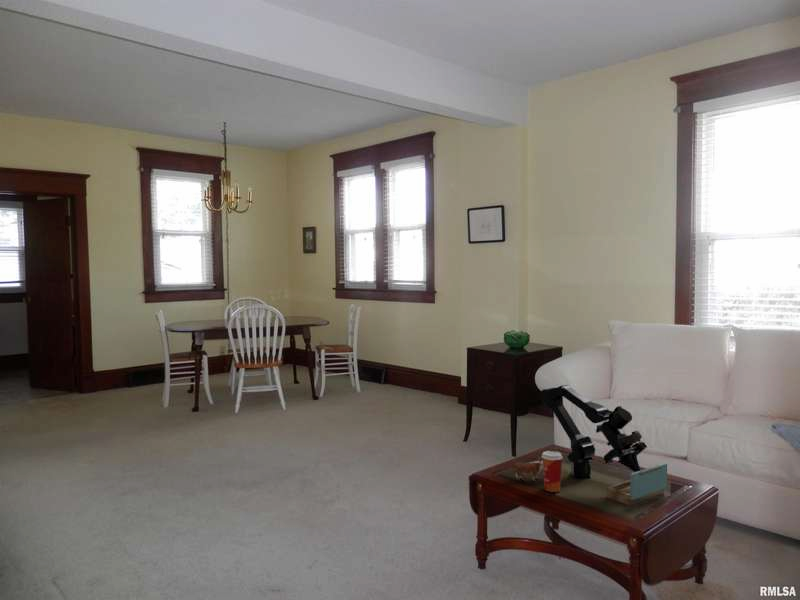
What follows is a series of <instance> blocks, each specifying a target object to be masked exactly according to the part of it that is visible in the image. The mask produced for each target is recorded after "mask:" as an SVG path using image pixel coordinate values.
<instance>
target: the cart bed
mask: <svg viewBox="0 0 800 600" xmlns="http://www.w3.org/2000/svg"><path fill="white" fill-rule="evenodd" d="M605 489H606V496H605V497H606V498H609V499H611V500H614V501H616V502H620V503H623V504H625V505H628V506H631V505H634V504H637V503H640V502H642V501H646V500H648V499H651V498H654V497H656V496H659V495H663V494H665V489H662V490H660V491H657V492H654V493H651V494H648V495H645V496H642V497H640V498H637V499H634V500H631V499H630V479H628V480H626V481H622V482H619V483H615V484H612V485H609V486H607V487H606V488H605Z"/></svg>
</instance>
